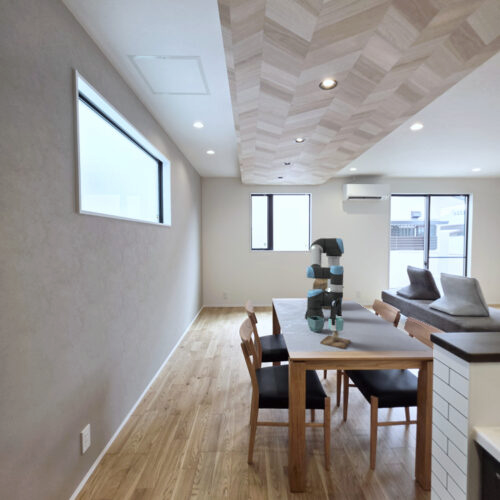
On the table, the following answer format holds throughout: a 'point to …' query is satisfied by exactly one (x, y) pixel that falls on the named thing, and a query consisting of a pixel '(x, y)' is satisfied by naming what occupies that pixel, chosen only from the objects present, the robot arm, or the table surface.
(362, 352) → the table surface
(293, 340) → the table surface
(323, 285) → the vase
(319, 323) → the flower pot
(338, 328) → the ring
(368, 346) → the table surface
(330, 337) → the post stand
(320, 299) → the robot arm
